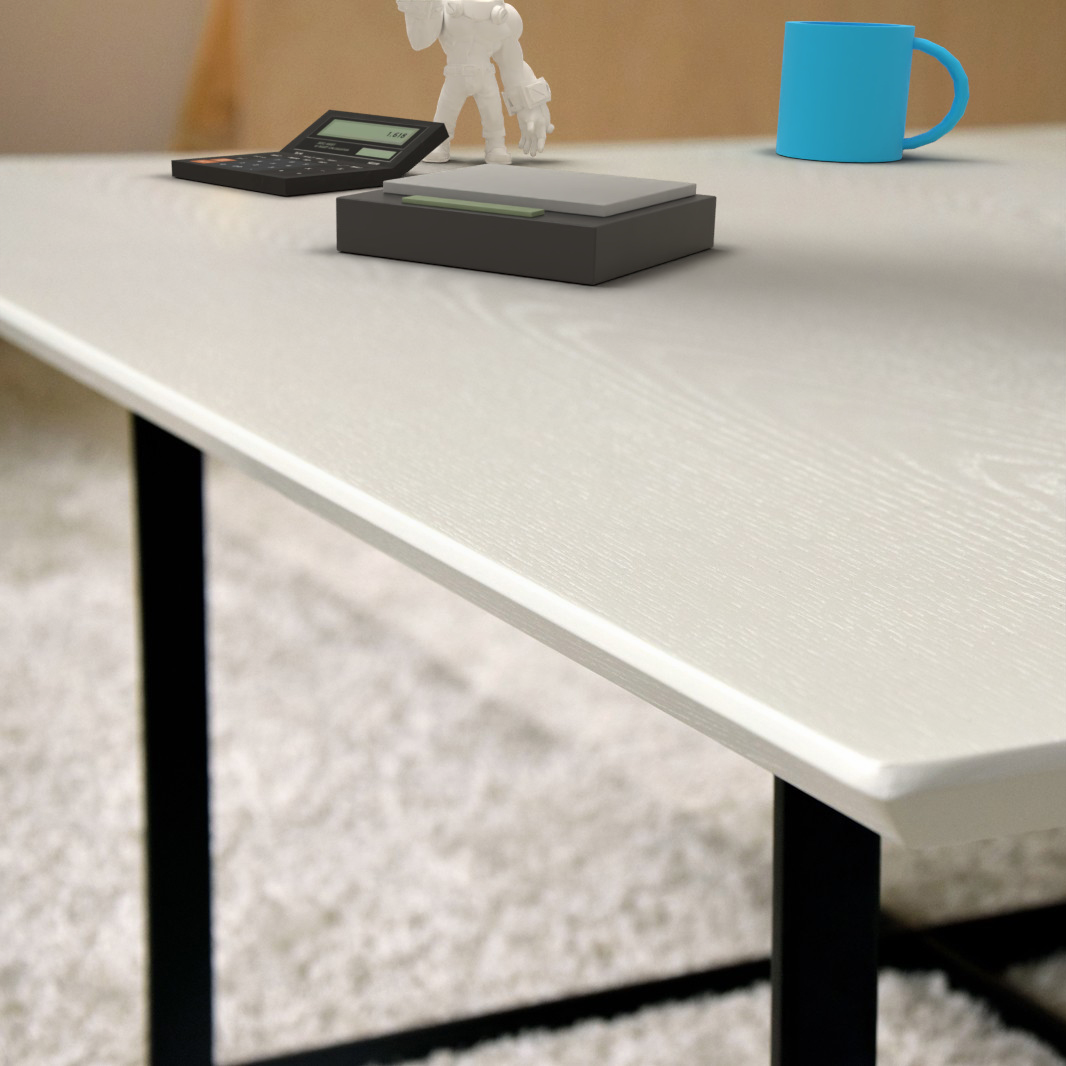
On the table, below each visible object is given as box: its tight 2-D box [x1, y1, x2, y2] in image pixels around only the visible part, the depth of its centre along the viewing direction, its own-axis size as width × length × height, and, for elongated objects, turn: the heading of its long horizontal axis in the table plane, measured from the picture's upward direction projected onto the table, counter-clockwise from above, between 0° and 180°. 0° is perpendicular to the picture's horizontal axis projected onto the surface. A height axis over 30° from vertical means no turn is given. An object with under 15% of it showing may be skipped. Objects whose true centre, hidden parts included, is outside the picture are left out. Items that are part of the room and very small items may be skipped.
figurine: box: [395, 0, 556, 165], centre depth 96 cm, size 10×5×12 cm, turn 127°
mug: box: [775, 20, 970, 163], centre depth 105 cm, size 12×8×8 cm
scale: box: [335, 163, 717, 286], centre depth 68 cm, size 12×11×3 cm
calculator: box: [170, 109, 449, 197], centre depth 88 cm, size 9×12×3 cm
